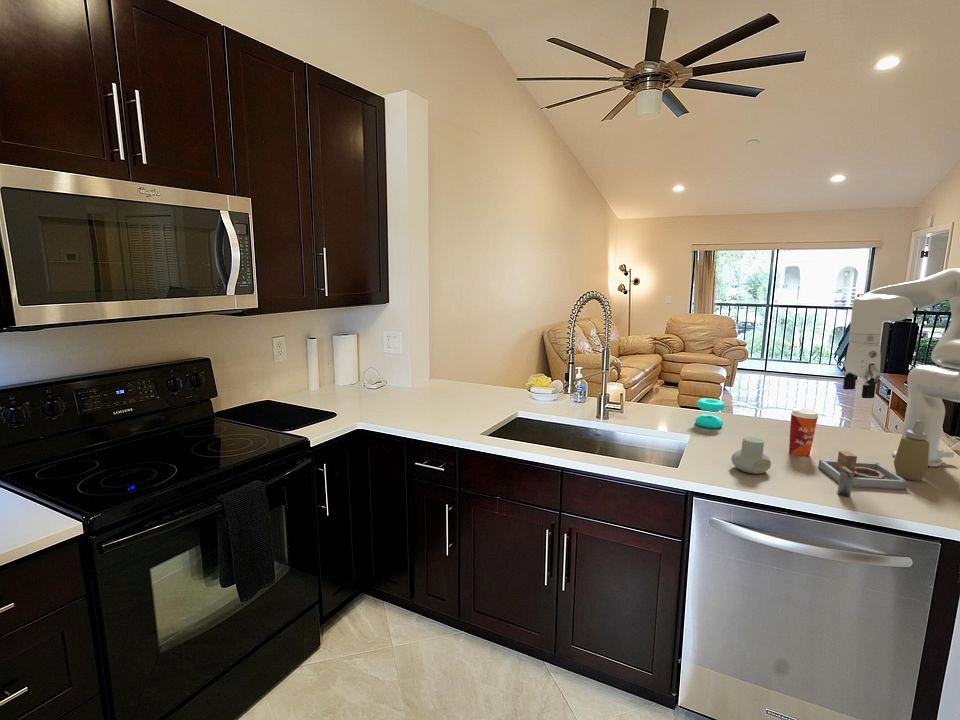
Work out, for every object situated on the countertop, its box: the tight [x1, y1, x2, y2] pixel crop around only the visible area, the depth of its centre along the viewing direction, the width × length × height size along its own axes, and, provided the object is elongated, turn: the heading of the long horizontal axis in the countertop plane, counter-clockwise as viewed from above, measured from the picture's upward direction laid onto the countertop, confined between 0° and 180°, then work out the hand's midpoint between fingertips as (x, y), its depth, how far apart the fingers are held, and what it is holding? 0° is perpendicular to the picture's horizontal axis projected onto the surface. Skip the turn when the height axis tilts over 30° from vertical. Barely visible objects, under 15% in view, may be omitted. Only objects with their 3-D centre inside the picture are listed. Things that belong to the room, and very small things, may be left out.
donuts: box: [695, 397, 726, 429], centre depth 204 cm, size 10×10×10 cm
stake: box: [836, 466, 854, 498], centre depth 145 cm, size 3×4×7 cm
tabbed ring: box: [836, 450, 885, 479], centre depth 156 cm, size 12×8×7 cm
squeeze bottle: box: [893, 420, 929, 482], centre depth 156 cm, size 8×8×18 cm
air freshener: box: [731, 436, 772, 475], centre depth 161 cm, size 11×8×10 cm
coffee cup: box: [788, 407, 820, 457], centre depth 175 cm, size 8×8×15 cm
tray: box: [818, 459, 909, 491], centre depth 156 cm, size 17×14×2 cm
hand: (858, 393), depth 159 cm, fingers open, 9 cm apart
